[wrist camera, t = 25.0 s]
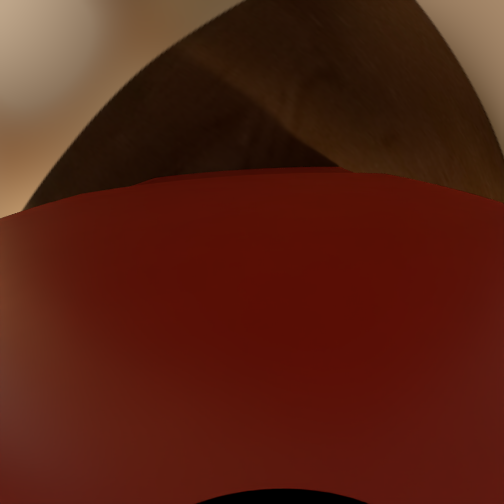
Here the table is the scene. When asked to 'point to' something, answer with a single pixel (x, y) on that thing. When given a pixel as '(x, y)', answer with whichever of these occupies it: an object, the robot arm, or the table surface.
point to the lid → (254, 344)
